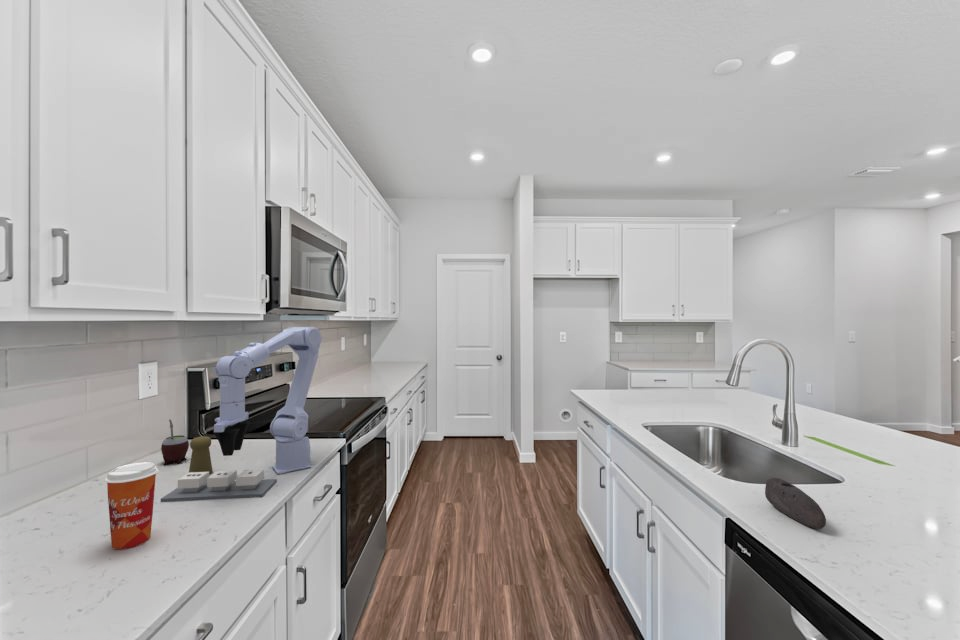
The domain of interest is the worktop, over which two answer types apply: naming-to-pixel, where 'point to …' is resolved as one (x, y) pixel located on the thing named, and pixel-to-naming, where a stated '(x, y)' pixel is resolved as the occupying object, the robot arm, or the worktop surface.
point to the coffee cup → (131, 503)
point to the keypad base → (220, 492)
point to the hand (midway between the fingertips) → (232, 452)
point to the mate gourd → (174, 448)
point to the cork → (200, 455)
